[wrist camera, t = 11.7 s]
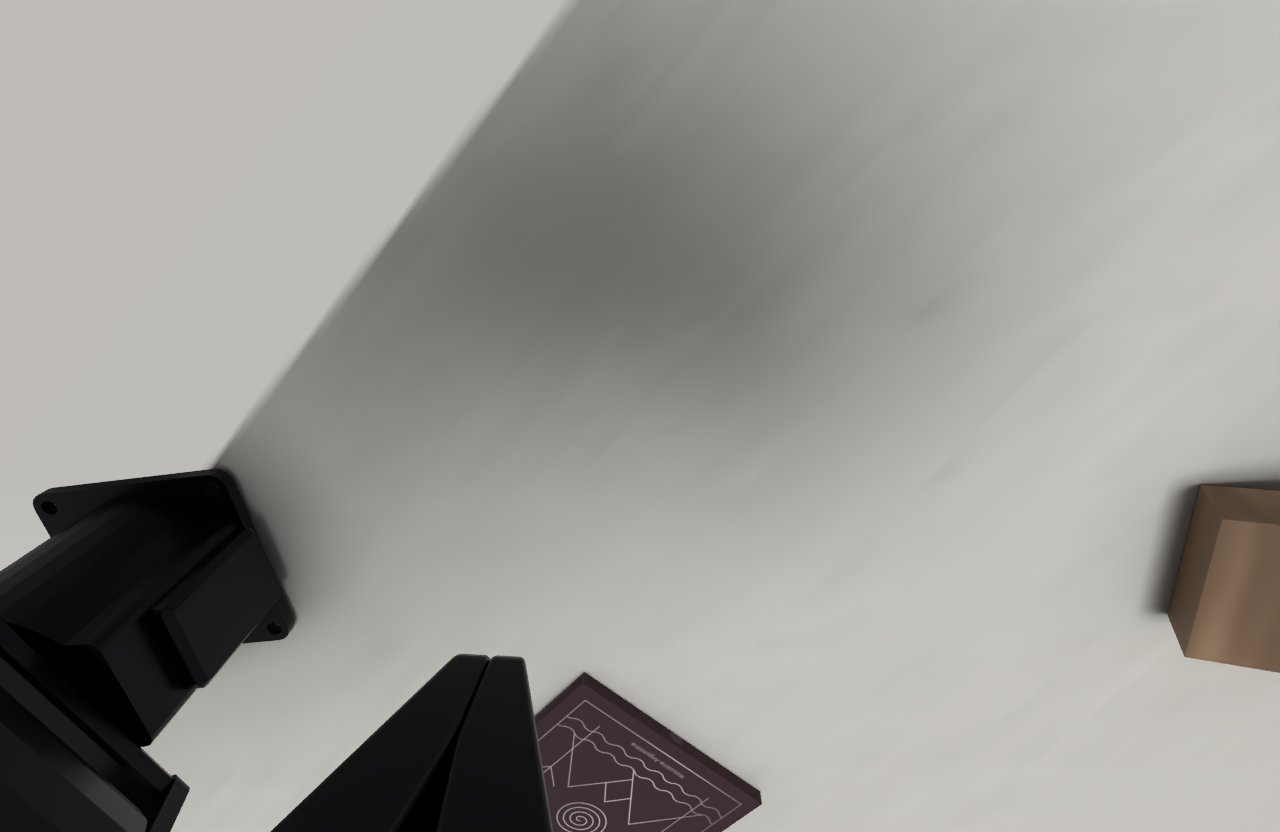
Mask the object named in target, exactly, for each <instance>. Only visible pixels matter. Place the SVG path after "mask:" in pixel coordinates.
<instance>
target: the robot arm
mask: <svg viewBox="0 0 1280 832" xmlns="http://www.w3.org/2000/svg"><path fill="white" fill-rule="evenodd" d="M212 482H213V483H214V484H216V485H217V486H218V487H219V489H220V490H218V489H216V488H215V487H214V486H213V485H212ZM33 506H34V509H35V511H36V513H37V514H38V516H39V518H40V520H41V521H42V523H43V525H44V527H45V528H46V530H47V532H48V533H49V535H50V537H51V538H50V539H48V540H47V541H45V542H44V543H42V544H41V545H39V546H38V547H36V548H35V549H33V550H32V551H30V552H29V553H27V554H26V555H24V556H23V557H21V558H20V559H18V560H17V561H15V562H14V563H12V564H11V565H9V566H8V567H6V568H5V569H3V570H2V571H0V832H170V831H171V829H172V827H173V825H174V822H175V820H176V818H177V816H178V814H179V812H180V809H181V807H182V805H183V803H184V801H185V799H186V796H187V794H188V792H189V789H190V787H189V786H188V785H186V784H185V783H184V782H183V781H182V780H181V779H180V778H179V777H178V776H177V775H173V776H171V775H170V774H169V773H167V772H166V771H165V770H164V769H163V768H162V767H161V766H160V765H159V764H158V763H157V762H156V761H155V760H154V759H152V758H151V757H150V756H149V755H148V754H147V753H146V752H145V751H144V750H143V749H142V748H141V747H145V746H148V745H150V744H151V743H152V742H153V741H154V740H155V738H156V737H157V736H158V735H159V734H160V732H161V731H162V730H163V729H164V728H165V726H166V725H167V724H168V723H169V722H170V720H171V719H172V718H173V717H174V716H175V714H176V713H177V712H178V711H179V710H180V708H181V707H182V706H183V705H184V704H185V702H186V701H187V700H188V699H189V698H190V696H191V695H192V694H193V693H194V692H195V690H196V689H197V688H204V687H205V686H207V685H208V684H209V683H210V681H211V680H212V679H213V678H214V677H215V675H216V674H217V673H218V672H219V670H220V669H221V668H222V667H223V666H224V664H225V663H226V662H227V661H228V659H229V658H230V657H231V656H232V655H233V653H234V652H235V651H236V650H237V649H238V647H239V646H240V645H241V644H242V643H252V642H263V641H273V640H281V639H284V638H285V637H286V636H288V634H289V633H290V632H291V630H292V629H293V627H294V624H295V623H294V619H293V616H292V614H291V612H290V609H289V607H288V605H287V602H286V600H285V598H284V595H283V593H282V591H281V588H280V586H279V584H278V581H277V579H276V577H275V574H274V572H273V570H272V567H271V565H270V563H269V561H268V558H267V556H266V554H265V551H264V549H263V547H262V544H261V542H260V540H259V537H258V535H257V533H256V530H255V528H254V526H253V523H252V521H251V519H250V516H249V514H248V512H247V510H246V507H245V505H244V503H243V500H242V498H241V496H240V493H239V491H238V489H237V486H236V484H235V482H234V480H233V479H232V477H231V476H230V475H229V474H228V473H226V472H225V471H222V470H220V469H210V470H201V471H193V472H184V473H176V474H167V475H159V476H150V477H142V478H133V479H125V480H116V481H108V482H100V483H91V484H82V485H74V486H65V487H57V488H51V489H48V490H46V491H44V492H43V493H41V494H39V495H38V496H36V497H35V498H34V500H33ZM275 623H276V624H278V625H279V626H278V625H276V624H275ZM271 832H553V828H552V822H551V816H550V809H549V803H548V797H547V791H546V785H545V779H544V773H543V767H542V761H541V755H540V749H539V743H538V736H537V730H536V724H535V718H534V712H533V706H532V700H531V694H530V688H529V682H528V676H527V670H526V664H525V660H524V659H523V658H522V657H514V656H494V657H492V658H491V659H490V658H489V657H488V656H486V655H474V654H459V655H456V656H455V657H453V658H452V659H451V660H450V661H449V662H448V663H447V664H446V665H445V666H444V667H443V668H442V669H440V670H439V671H438V672H437V673H436V674H435V675H434V676H433V677H432V678H431V679H430V680H429V681H428V682H427V683H426V684H425V685H424V686H423V687H422V688H421V689H420V690H418V691H417V692H416V693H415V694H414V695H413V696H412V697H411V698H410V699H409V700H408V701H407V702H406V703H405V704H404V705H403V706H402V707H401V708H400V709H399V710H397V711H396V712H395V713H394V714H393V715H392V716H391V717H390V718H389V719H388V720H387V721H386V722H385V723H384V724H383V725H382V726H381V727H380V728H379V729H378V730H377V731H375V732H374V733H373V734H372V735H371V736H370V737H369V738H368V739H367V740H366V741H365V742H364V743H363V744H362V745H361V746H360V747H359V748H358V749H357V750H356V751H355V752H353V753H352V754H351V755H350V756H349V757H348V758H347V759H346V760H345V761H344V762H343V763H342V764H341V765H340V766H339V767H338V768H337V769H336V770H335V771H334V772H333V773H331V774H330V775H329V776H328V777H327V778H326V779H325V780H324V781H323V782H322V783H321V784H320V785H319V786H318V787H317V788H316V789H315V790H314V791H313V792H312V793H311V794H309V795H308V796H307V797H306V798H305V799H304V800H303V801H302V802H301V803H300V804H299V805H298V806H297V807H296V808H295V809H294V810H293V811H292V812H291V813H290V814H289V815H287V816H286V817H285V818H284V819H283V820H282V821H281V822H280V823H279V824H278V825H277V826H276V827H275V828H274V829H273V830H272V831H271Z"/></svg>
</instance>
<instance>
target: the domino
mask: <svg viewBox="0 0 1280 832" xmlns="http://www.w3.org/2000/svg"><path fill="white" fill-rule="evenodd" d="M1168 617H1169V620H1170V622H1171V624H1172V627H1173V629H1174V632H1175V634H1176V637H1177V639H1178V642H1179V644H1180V646H1181V649H1182V651H1183V654H1184V656H1185V657H1189V658H1195V659H1201V660H1207V661H1213V662H1219V663H1225V664H1231V665H1237V666H1243V667H1249V668H1255V669H1261V670H1266V671H1272V672H1278V673H1280V491H1274V490H1262V489H1249V488H1237V487H1225V486H1213V485H1201V484H1200V488H1199V492H1198V496H1197V500H1196V504H1195V508H1194V511H1193V515H1192V519H1191V523H1190V527H1189V531H1188V535H1187V539H1186V543H1185V547H1184V551H1183V555H1182V559H1181V563H1180V567H1179V571H1178V575H1177V579H1176V583H1175V587H1174V591H1173V595H1172V599H1171V603H1170V607H1169V611H1168Z"/></svg>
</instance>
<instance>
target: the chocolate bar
mask: <svg viewBox="0 0 1280 832" xmlns="http://www.w3.org/2000/svg"><path fill="white" fill-rule="evenodd" d="M534 718H535V724H536V730H537V736H538V743H539V749H540V755H541V761H542V767H543V773H544V779H545V785H546V791H547V797H548V803H549V809H550V816H551V822H552V828H553V832H722V831H723V830H725V829H726V828H728V827H729V826H731V825H732V824H734V823H735V822H736V821H738V820H739V819H741V818H742V817H744V816H745V815H747V814H748V813H749V812H751V811H752V810H754V809H755V808H757V807H758V806H760V805H761V804H762V801H761V795H760V791H758V790H757V789H755V788H754V787H752V786H751V785H749V784H748V783H746V782H745V781H743V780H742V779H741V778H739V777H738V776H736V775H735V774H733V773H732V772H730V771H729V770H727V769H726V768H724V767H723V766H721V765H720V764H719V763H717V762H716V761H714V760H713V759H711V758H710V757H708V756H707V755H705V754H704V753H702V752H701V751H699V750H698V749H696V748H695V747H694V746H692V745H691V744H689V743H688V742H686V741H685V740H683V739H682V738H680V737H679V736H677V735H676V734H674V733H673V732H672V731H670V730H669V729H667V728H666V727H664V726H663V725H661V724H660V723H658V722H657V721H655V720H654V719H652V718H651V717H650V716H648V715H647V714H645V713H644V712H642V711H641V710H639V709H638V708H636V707H635V706H633V705H632V704H630V703H629V702H627V701H626V700H625V699H623V698H622V697H620V696H619V695H617V694H616V693H614V692H613V691H611V690H610V689H608V688H607V687H605V686H604V685H603V684H601V683H600V682H598V681H597V680H595V679H594V678H592V677H591V676H589V675H588V674H586V673H585V672H584V673H583V674H582V675H581V676H580V677H579V678H578V679H577V680H575V681H574V682H573V683H572V684H571V685H570V686H569V687H567V688H566V689H565V690H564V691H563V692H562V693H561V694H559V695H558V696H557V697H556V698H555V699H554V700H553V701H552V702H550V703H549V704H548V705H547V706H546V707H545V708H544V709H542V710H541V711H540V712H539V713H538V714H537V715H536V716H534Z"/></svg>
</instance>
